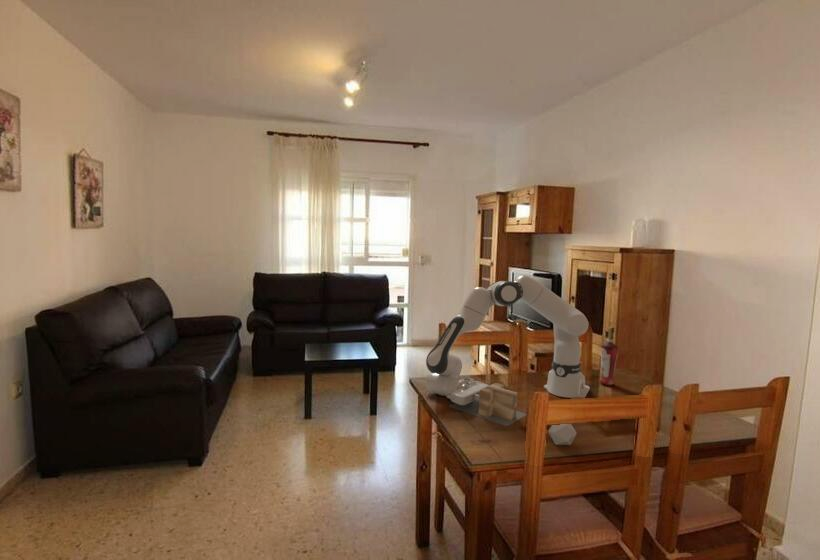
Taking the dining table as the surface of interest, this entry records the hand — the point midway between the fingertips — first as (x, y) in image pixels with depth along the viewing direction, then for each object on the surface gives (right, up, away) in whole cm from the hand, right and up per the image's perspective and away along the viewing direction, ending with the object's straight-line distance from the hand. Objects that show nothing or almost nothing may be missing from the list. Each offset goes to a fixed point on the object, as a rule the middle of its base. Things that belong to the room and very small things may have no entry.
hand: (487, 398), depth 187 cm
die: (+21, -9, -26) cm, 35 cm away
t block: (+4, -5, -4) cm, 8 cm away
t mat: (0, -5, 0) cm, 5 cm away
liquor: (+64, -3, +39) cm, 75 cm away
